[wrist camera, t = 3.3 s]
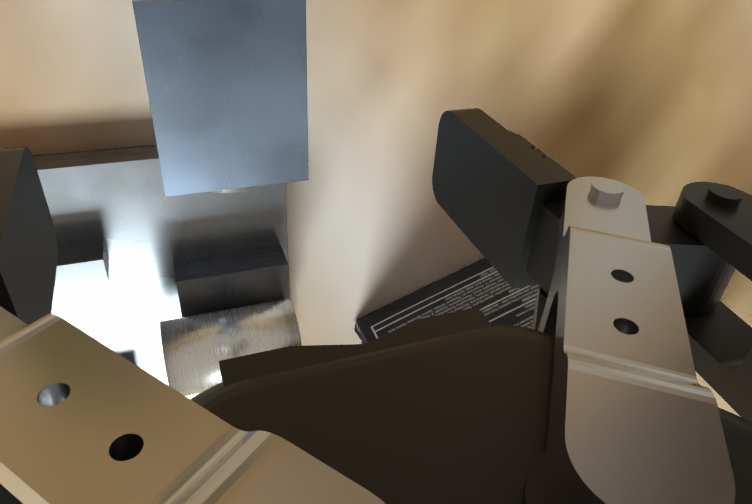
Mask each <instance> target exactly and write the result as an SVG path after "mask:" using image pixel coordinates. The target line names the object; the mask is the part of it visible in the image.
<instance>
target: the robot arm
mask: <svg viewBox="0 0 752 504" xmlns="http://www.w3.org/2000/svg"><path fill="white" fill-rule="evenodd" d="M432 184H433V191H434V195H435V198H436V200H437V202H438V204H439V205H440V206H441V207H442V208H443V209H444V211H445V212H446V213H447V214H448V215H449V216H450V218H451V219H452V220H453V221H454V222H455V223H456V224H457V226H458V227H459V228H460V229H461V230H462V231H463V233H464V234H465V235H466V236H467V237H468V238H469V239H470V241H471V242H472V243H473V244H474V245H475V246H476V248H477V249H478V250H479V251H480V252H481V253H482V254H483V256H484V257H485V258H486V259H487V260H488V261H489V263H490V264H491V265H492V266H493V267H494V268H495V269H496V271H497V272H498V273H499V274H500V275H501V276H502V278H503V279H504V280H505V281H506V282H507V283H508V284H509V286H510V287H511V288H512V289H517V288H522V287H527V286H532V285H537V284H538V285H539V286H540V287H539V290H538V294H537V298H536V301H535V309H534V316H533V324H532V329H529V328H525V327H519V326H512V325H502V324H490V322H489V321H488V320H487V318H486V317H485V316H484V314H483V313H482V312H481V310H480V309H479V308H478V307H475V308H470V309H465V310H460V311H456V312H451V313H446V314H441V315H436V316H432V317H427V318H422V319H419V320H417V321H415V322H413V323H410V324H408V325H406V326H404V327H401V328H399V329H397V330H395V331H392V332H390V333H388V334H386V335H384V336H381V337H379V338H377V339H375V340H372V341H370V342H368V343H364V344H357V345H316V346H288V347H283V348H278V349H273V350H269V351H264V352H259V353H254V354H249V355H245V356H240V357H235V358H230V359H225V360H221V361H219V367H220V374H221V383H219V384H217V385H214V386H212V387H210V388H208V389H207V390H205V391H203V392H201V393H199V394H198V395H196V396H194V397H193V398H191V399H189V398H187V397H186V396H184V395H183V394H181V393H179V392H178V391H176V390H175V389H173V388H172V387H170V386H168V385H167V384H165V383H164V382H162V381H160V380H159V379H157V378H156V377H154V376H153V375H151V374H149V373H148V372H146V371H145V370H143V369H142V368H140V367H138V366H137V365H135V364H134V363H132V362H131V361H129V360H127V359H126V358H124V357H123V356H121V355H119V354H118V353H116V352H115V351H113V350H112V349H110V348H108V347H107V346H105V345H104V344H102V343H101V342H99V341H97V340H96V339H94V338H93V337H91V336H90V335H88V334H86V333H85V332H83V331H82V330H80V329H78V328H77V327H75V326H74V325H72V324H71V323H69V322H67V321H66V320H64V319H63V318H61V317H59V316H57V315H54V314H51V312H52V304H53V295H54V287H55V278H56V270H57V261H58V245H57V238H56V233H55V228H54V224H53V221H52V217H51V214H50V211H49V208H48V204H47V201H46V198H45V195H44V191H43V188H42V185H41V181H40V178H39V175H38V172H37V168H36V165H35V162H34V159H33V156H32V154H31V152H30V150H29V149H28V148H27V147H22V148H11V149H0V504H752V328H751V327H750V326H749V325H748V324H747V323H745V322H744V321H743V320H742V319H741V318H740V317H738V316H737V315H736V314H735V313H734V312H732V311H731V310H730V309H729V308H728V307H727V306H725V305H724V304H723V303H722V302H721V301H720V299H721V297H722V295H723V293H724V291H725V289H726V287H727V285H728V283H729V281H730V279H731V277H732V275H733V273H734V271H735V269H737V270H738V271H739V272H741V273H742V274H743V275H745V276H746V277H747V278H749V279H750V280H751V281H752V196H751V195H749V194H747V193H745V192H743V191H741V190H738V189H736V188H734V187H731V186H728V185H723V184H718V183H711V182H694V183H690V184H687V185H686V186H684V188H683V190H682V192H681V195H680V197H679V199H678V202H677V204H676V207H673V206H652V205H646V204H645V200H644V197H643V196H642V195H641V194H640V193H639V192H638V191H637V190H635V189H634V188H632V187H631V186H629V185H627V184H624V183H622V182H619V181H616V180H613V179H608V178H603V177H594V176H586V177H579V178H576V177H574V176H573V175H572V174H570V173H569V172H568V171H567V170H565V169H564V168H563V167H561V166H560V165H559V164H557V163H556V162H555V161H553V160H552V159H551V158H547V157H546V155H545V154H544V153H543V152H541V151H540V150H539V149H535V146H534V145H532V144H531V143H530V142H528V141H527V140H526V139H524V138H523V137H522V136H520V135H517V134H515V133H513V132H510V131H508V130H506V129H505V128H504V127H503V126H501V125H500V124H499V123H497V122H496V121H495V120H493V119H492V118H491V117H490V116H488V115H487V114H486V113H484V112H483V111H482V110H480V109H478V108H475V109H463V110H452V111H446V112H444V113H443V114H442V116H441V119H440V122H439V128H438V136H437V144H436V152H435V160H434V168H433V177H432ZM695 371H696V372H697V373H698V374H699V375H700V376H701V377H702V378H703V379H704V380H705V381H706V382H707V383H708V384H709V385H710V386H711V387H712V388H713V389H714V390H715V391H716V392H717V393H718V394H719V395H720V396H721V397H722V398H723V399H724V400H725V401H726V402H727V403H728V404H729V405H730V406H731V407H732V408H733V409H734V410H735V411H736V412H737V413H738V414H739V415H740V416H741V417H739V416H737V415H735V414H732V413H730V412H728V411H725V410H723V409H721V408H719V407H718V405H717V402H716V399H715V396H714V394H713V393H712V391H711V390H710V389H709V388H707V387H703V386H701V385H700V384H699V383H698V381H697V377H696V373H695Z"/></svg>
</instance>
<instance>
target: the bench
mask: <svg viewBox="0 0 752 504" xmlns="http://www.w3.org/2000/svg"><path fill="white" fill-rule="evenodd" d="M33 159H34V162H35V165H36V168H37V172H38V175H39V178H40V181H41V185H42V188H43V191H44V195H45V198H46V201H47V204H48V208H49V211H50V214H51V217H52V221H53V224H54V228H55V233H56V238H57V245H58V261H57V270H56V278H55V287H54V295H53V304H52V312H51V314H54V315H57V316H59V317H61V318H63V319H64V320H66V321H67V322H69V323H71V324H72V325H74V326H75V327H77V328H78V329H80V330H82V331H83V332H85V333H86V334H88V335H90V336H91V337H93V338H94V339H96V340H97V341H99V342H101V343H102V344H104V345H105V346H107V347H108V348H110V349H112V350H113V351H115V352H116V353H118V354H119V355H121V356H123V357H124V358H126V359H127V360H129V361H131V362H132V363H134V364H135V365H137V366H138V367H140V368H142V369H143V370H145V371H146V372H148V373H149V374H151V375H153V376H154V377H156V378H157V379H159V380H160V381H162V382H164V383H165V384H167V385H168V386H170V387H172V388H173V389H175V390H176V391H178V392H179V393H181V394H183V395H184V396H186V397H187V398H189V399H191V398H193V397H194V396H196V395H198V394H199V393H201V392H203V391H205V390H207V389H208V388H210V387H212V386H214V385H217V384H219V383H221V374H220V367H219V361H221V360H225V359H230V358H235V357H240V356H245V355H249V354H254V353H259V352H264V351H269V350H273V349H278V348H283V347H288V346H302V345H301V338H300V332H299V327H298V323H297V319H296V315H295V312H294V308H293V306H292V303H291V301H290V292H289V266H288V246H287V220H286V194H285V183H278V184H269V185H261V186H255V187H253V188H251V189H248V190H245V191H241V192H235V193H213V192H201V193H193V194H185V195H176V196H168V197H166V196H165V190H164V184H163V178H162V172H161V167H160V161H159V155H158V149H157V145H151V146H140V147H129V148H117V149H106V150H95V151H84V152H73V153H62V154H51V155H40V156H33Z"/></svg>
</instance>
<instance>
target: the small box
mask: <svg viewBox="0 0 752 504" xmlns="http://www.w3.org/2000/svg"><path fill="white" fill-rule="evenodd" d="M539 287H540V286H539V285H538V284H537V285H532V286H527V287H522V288H517V289H512V288H511V287H510V286H509V284H508V283H507V282H506V281H505V280H504V279H503V278H502V276H501V275H500V274H499V273H498V272H497V271H496V269H495V268H494V267H493V266H492V265H491V264H490V263H489V261H488V260H487V259H486V258H485V259H483V260H481V261H479V262H477V263H475V264H473V265H471V266H469V267H467V268H464V269H462V270H460V271H459V272H456V273H454V274H452V275H450V276H448V277H446V278H444V279H442V280H440V281H438V282H436V283H434V284H432V285H429V286H427V287H425V288H424V289H421V290H419V291H417V292H415V293H413V294H411V295H409V296H407V297H405V298H403V299H401V300H399V301H397V302H394V303H392V304H390V305H388V306H386V307H384V308H382V309H380V310H378V311H376V312H374V313H372V314H370V315H368V316H366V317H364V318H362V319H359V320H357V321H356V324H355V332H356V333H357V335H358V336H359V338H360V339H361V340H362V344H364V343H368V342H370V341H372V340H375V339H377V338H379V337H381V336H384V335H386V334H388V333H390V332H392V331H395V330H397V329H399V328H401V327H404V326H406V325H408V324H410V323H413V322H415V321H417V320H419V319H422V318H427V317H432V316H436V315H441V314H446V313H451V312H456V311H460V310H465V309H470V308H475V307H478V308H479V309H480V310H481V312H482V313H483V314H484V316H485V317H486V318H487V320H488V321H489V322H490V324H502V325H512V326H519V327H525V328H529V329H532V324H533V316H534V309H535V301H536V298H537V294H538V290H539Z"/></svg>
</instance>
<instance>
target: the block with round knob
mask: <svg viewBox="0 0 752 504" xmlns="http://www.w3.org/2000/svg"><path fill="white" fill-rule="evenodd" d="M132 3H133V8H134V14H135V20H136V26H137V32H138V38H139V44H140V49H141V55H142V61H143V67H144V73H145V79H146V85H147V90H148V96H149V102H150V108H151V114H152V120H153V126H154V131H155V137H156V143H157V149H158V155H159V161H160V167H161V172H162V178H163V184H164V190H165V196H166V197H168V196H176V195H185V194H193V193H201V192H213V193H235V192H241V191H245V190H248V189H251V188H253V187H255V186H261V185H269V184H278V183H286V182H295V181H303V180H308V120H307V52H306V0H132Z"/></svg>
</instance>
